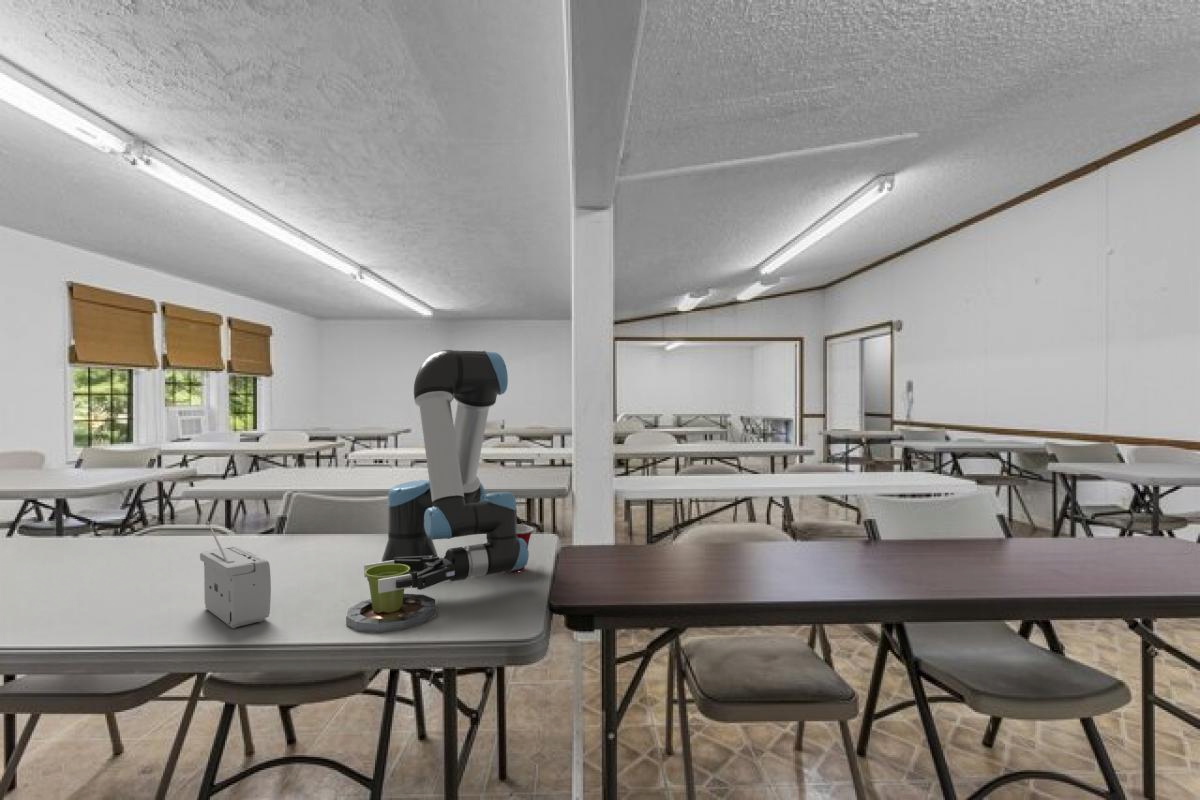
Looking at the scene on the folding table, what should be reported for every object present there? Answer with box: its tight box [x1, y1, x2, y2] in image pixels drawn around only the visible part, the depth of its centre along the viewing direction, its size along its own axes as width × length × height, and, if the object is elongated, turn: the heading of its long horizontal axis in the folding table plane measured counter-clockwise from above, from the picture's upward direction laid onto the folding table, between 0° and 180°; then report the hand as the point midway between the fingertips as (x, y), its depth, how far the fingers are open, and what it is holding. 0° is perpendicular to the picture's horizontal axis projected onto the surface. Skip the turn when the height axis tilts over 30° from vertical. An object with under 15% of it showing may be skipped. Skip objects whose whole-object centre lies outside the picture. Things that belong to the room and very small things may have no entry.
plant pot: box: [365, 564, 411, 613], centre depth 129 cm, size 9×9×9 cm
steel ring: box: [345, 593, 437, 634], centre depth 127 cm, size 18×18×2 cm
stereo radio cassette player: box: [199, 521, 272, 629], centre depth 129 cm, size 21×8×20 cm, turn 48°
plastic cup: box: [510, 523, 534, 573], centre depth 160 cm, size 11×11×12 cm
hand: (371, 578), depth 127 cm, fingers open, 13 cm apart
